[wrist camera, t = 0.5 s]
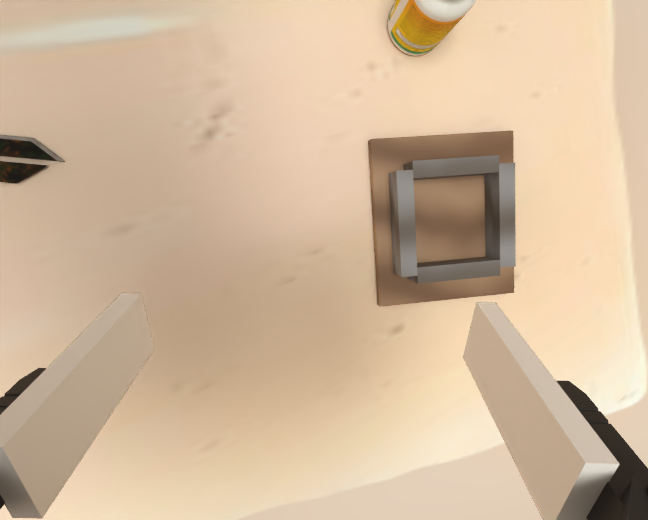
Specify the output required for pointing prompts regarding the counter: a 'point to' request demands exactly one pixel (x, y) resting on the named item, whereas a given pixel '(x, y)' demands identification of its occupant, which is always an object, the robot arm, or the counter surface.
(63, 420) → the robot arm
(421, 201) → the collar board
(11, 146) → the knife
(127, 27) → the counter surface
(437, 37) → the supplement bottle
